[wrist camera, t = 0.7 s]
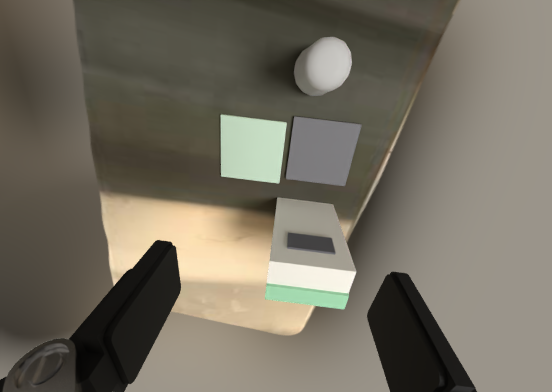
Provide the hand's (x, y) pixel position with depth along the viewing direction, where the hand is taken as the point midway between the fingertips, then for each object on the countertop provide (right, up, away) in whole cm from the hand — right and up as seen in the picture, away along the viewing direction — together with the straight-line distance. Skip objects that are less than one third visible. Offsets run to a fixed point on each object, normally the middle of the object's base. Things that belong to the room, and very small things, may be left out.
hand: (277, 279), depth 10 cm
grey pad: (+7, +11, +26) cm, 29 cm away
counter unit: (+5, 0, +31) cm, 31 cm away
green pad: (-4, +11, +26) cm, 29 cm away
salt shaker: (+5, +21, +21) cm, 30 cm away
